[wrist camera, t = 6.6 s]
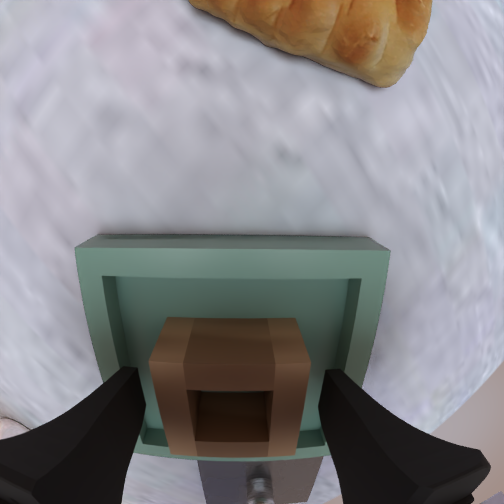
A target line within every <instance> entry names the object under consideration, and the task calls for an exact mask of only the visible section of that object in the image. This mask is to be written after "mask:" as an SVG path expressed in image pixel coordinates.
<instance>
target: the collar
mask: <svg viewBox="0 0 504 504" xmlns="http://www.w3.org/2000/svg"><path fill="white" fill-rule="evenodd" d="M149 367H150V372H151V376H152V381H153V386H154V390H155V395H156V399H157V403H158V408H159V412H160V416H161V420H162V424H163V428H164V431H165V435H166V439H167V442H168V446H169V449H170V453H171V454H173V455H184V456H198V457H221V458H255V457H278V456H292V455H295V452H296V447H297V442H298V437H299V432H300V427H301V421H302V416H303V410H304V404H305V398H306V392H307V386H308V380H309V373H310V367H311V361H310V358H309V355H308V352H307V349H306V346H305V344H304V341H303V338H302V335H301V332H300V329H299V327H298V324H297V321H296V318H187V317H167V319H166V321H165V323H164V326H163V328H162V330H161V332H160V335H159V337H158V339H157V342H156V344H155V347H154V349H153V351H152V354H151V356H150V358H149ZM201 390H206V391H264V392H260V393H217V392H201Z"/></svg>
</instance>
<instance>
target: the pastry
mask: <svg viewBox="0 0 504 504" xmlns="http://www.w3.org/2000/svg"><path fill="white" fill-rule="evenodd" d="M189 2H190V4H191V5H193V6H194V7H195V8H198V9H201V10H204V11H207V12H209V13H210V14H212V15H213V16H215V17H219V18H222V19H224V20H225V21H227V22H228V23H229V24H230V25H232V26H233V27H234V28H237V29H240V30H243V31H245V32H247V33H250V34H251V35H253V36H254V37H256V38H257V39H259V40H260V41H261V42H262V43H263V44H264V45H266V46H268V47H274V48H279V49H280V50H283V51H285V52H288V53H291V54H293V55H300V56H303V57H306V58H309V59H311V60H313V61H315V62H317V63H319V64H321V65H323V66H325V67H328V68H331V69H333V70H336V71H339V72H342V73H345V74H347V75H349V76H351V77H355V78H360V79H362V80H364V81H365V82H367V83H370V84H372V85H374V86H377V87H383V88H387V87H390V86H392V85H394V84H395V83H397V81H398V80H399V79H400V78H401V77H402V75H403V74H404V73H405V71H406V69H407V68H408V67H409V66H410V64H411V62H412V60H413V56H414V53H415V51H416V49H417V47H418V46H419V45H420V44H421V42H422V41H423V39H424V37H425V35H426V33H427V29H428V23H429V20H430V15H431V7H432V0H189Z"/></svg>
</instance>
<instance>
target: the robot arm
mask: <svg viewBox="0 0 504 504" xmlns="http://www.w3.org/2000/svg"><path fill="white" fill-rule="evenodd" d="M145 409H146V401H145V397H144V393H143V389H142V385H141V381H140V376H139V372H138V368H137V367H128V366H123V367H122V368H120V369H119V370H118V371H117V372H116V373H115V374H113V375H112V376H111V377H110V378H109V379H108V380H107V381H105V382H104V383H103V384H102V385H101V386H100V387H98V388H97V389H96V390H95V391H94V392H92V393H91V394H90V395H89V396H87V397H86V398H85V399H83V400H82V401H81V402H79V403H78V404H77V405H75V406H74V407H73V408H71V409H70V410H68V411H67V412H65V413H64V414H62V415H60V416H59V417H57V418H55V419H53V420H52V421H50V422H48V423H45V424H43V425H41V426H39V427H37V428H35V429H33V430H30V431H27V432H25V433H22V434H19V435H16V436H13V437H9V438H5V439H1V440H0V504H121V502H122V494H123V489H124V483H125V478H126V474H127V470H128V466H129V463H130V460H131V457H132V454H133V452H134V449H135V446H136V443H137V440H138V437H139V434H140V431H141V428H142V425H143V420H144V415H145ZM318 411H319V416H320V422H321V427H322V430H323V433H324V436H325V439H326V442H327V445H328V448H329V451H330V454H331V457H332V459H333V462H334V465H335V468H336V471H337V475H338V478H339V483H340V488H341V493H342V498H343V504H471V503H472V502H473V501H474V497H473V496H472V494H471V493H472V492H473V491H474V490H475V489H476V488H477V487H478V486H479V485H480V484H481V482H482V481H483V480H484V479H485V478H486V477H487V475H488V473H489V472H490V468H491V466H490V464H489V463H488V461H487V459H486V458H485V457H484V455H483V454H482V452H481V451H480V450H478V449H473V448H469V447H464V446H460V445H456V444H453V443H450V442H447V441H444V440H441V439H439V438H436V437H434V436H431V435H429V434H427V433H425V432H423V431H421V430H419V429H417V428H415V427H413V426H411V425H410V424H408V423H406V422H405V421H403V420H401V419H400V418H398V417H397V416H395V415H394V414H392V413H391V412H390V411H388V410H387V409H386V408H384V407H383V406H381V405H380V404H379V403H378V402H377V401H375V400H374V399H373V398H372V397H371V396H369V395H368V394H367V393H366V392H365V391H364V390H363V389H361V388H360V387H359V386H358V385H357V384H356V383H355V382H354V381H353V380H352V379H351V378H350V377H349V376H348V375H347V374H346V373H344V372H343V371H342V370H341V369H328V370H325V373H324V379H323V384H322V389H321V394H320V398H319V403H318ZM481 504H504V494H503V493H502V492H498V493H497V494H495V495H494V496H492V497H490V498H489V499H487V500H485V501H484V502H482V503H481Z"/></svg>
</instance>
